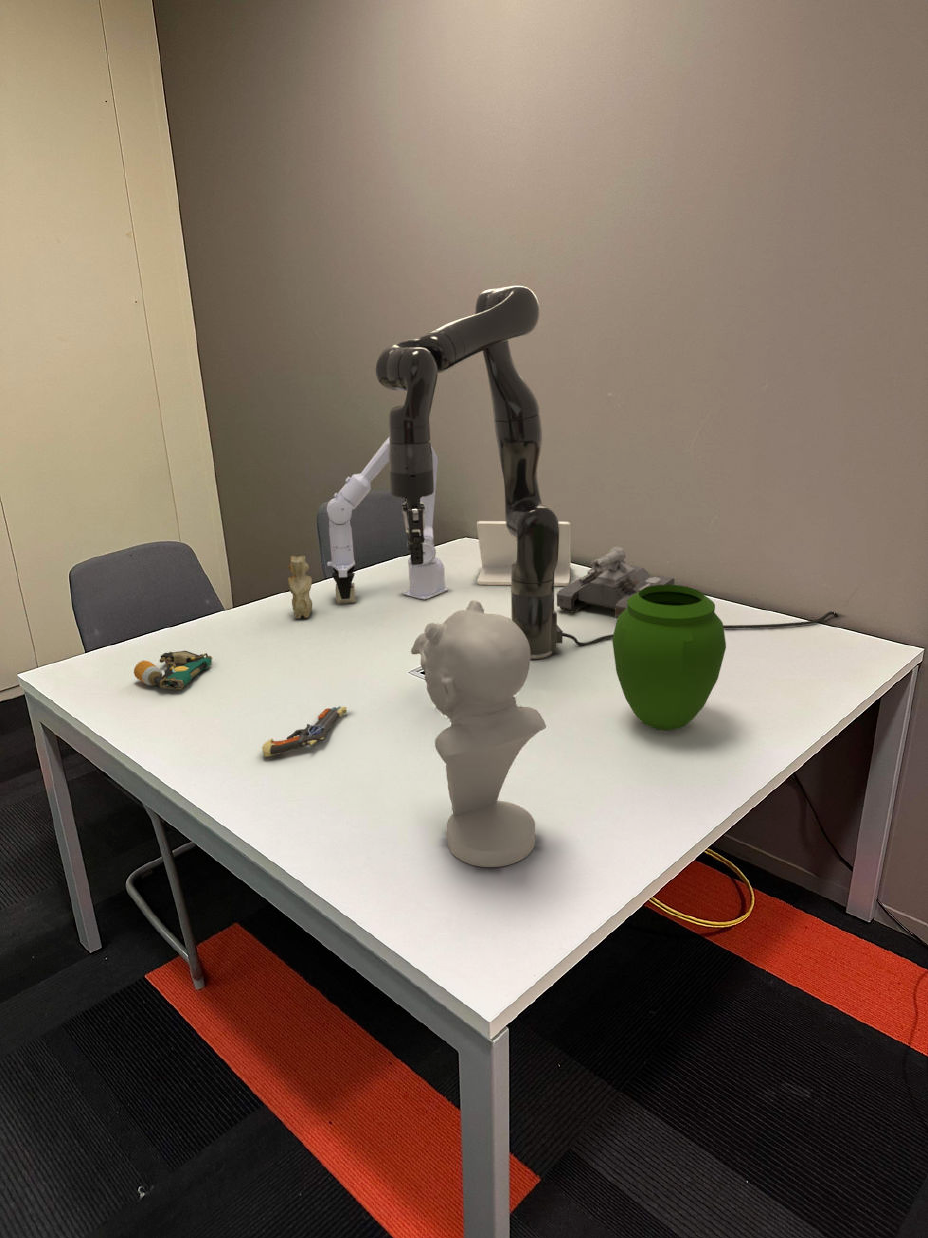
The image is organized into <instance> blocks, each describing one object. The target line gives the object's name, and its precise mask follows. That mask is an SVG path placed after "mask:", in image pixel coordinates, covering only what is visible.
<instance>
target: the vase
mask: <svg viewBox="0 0 928 1238" xmlns="http://www.w3.org/2000/svg"><path fill="white" fill-rule="evenodd" d="M715 609H716V604H715V602H714V601H713V600H712V599H711V598H710V597H708V596H707V595H705V594H704V593H703V592H701V591H700V590H698V589H695V588H693V587H688V586H684V585H679V584H678V585H677V584H674V585H656V586H650V587H646V588H644V589H642V590H640V591H639V592H638V593H636V594H634V595H632V596H631V597H630V598H629V599H628V601H627V608H626V609H625V610H624V611H623V612H622V613H621V614H620V615H619V616H618V619H617V618H616V624H615V627H614V631H613V638H611V641H612V642H611V643H612V649H613V656H614V657H613V658H614V664H615V665H614V666H615V671H616V676H617V678H618V681H619V685H620V687H621V690H622V693H623V696H624V699H625V700H626V703H627V704H628V705H629V707H630V709H631V711H632V712H633V714H634V716H636V717H637V718H638V720H639V721H640V722H641V723H642V724H643V725H645V726H647V727H649V728H651V729H654V730H660V731H674V730H679V729H682V728H684V727H686V726H687V725H688V724H689V723H691V722H692V720H694V719H695V718H696V716H697V715H698V714H699V713H700V712H701V710H702V709H703V708H704V707H705V705H706V703H707V702H708V700H709V697H710V695H711V693H712V691H713V689H714V688H715V685H716V684H717V681H718V679H719V676H720V672H721V669H722V664H723V660H724V658H725V657H724V656H725V653H726V650H727V641H726V635H725V629H724V627H723V625H724V623H723V622H722V621H723V620H721V619H720V617H719V616H718V615H717V614H716V612H715Z"/></svg>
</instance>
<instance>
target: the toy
mask: <svg viewBox="0 0 928 1238" xmlns="http://www.w3.org/2000/svg"><path fill="white" fill-rule="evenodd" d="M626 557H627V556H626V551H625V549H624V548H622V547H621V546H614V547H612V548H611V549H610V550H609V552H608V553H607V554H605V555H604V556H601V557H599V558H598V559H597V557H596V558H594V559H593V560H592V561H590V562H589V563H590V564H591V565H592V567H591V568H590V569H589V570H587V573H586V575H584V576H582V577H580V578H578V579H577V580H575V581H573V582H570V583H569V585H567V586H563V587H562V588H560V589H559V590H558V591H557V592H556V607H558V608H559V609H560V610H562V611H566V612H572V613H575V612H577V611H579V610H581V609H582V608H585V607H586V606H588V605H592V606H598V607H602V608H603V607H604V608H609V609H613V610H614V618H615V619H616V620H617V619H618V616H619V615H620V614H621V613H622V612H623V611H624V610H625V609H626V608H627V601H628V599H629V598H630V597H631V596H632V595H634V594H636V593H638V592H639V591H640V590H642V589H644V588H646V587H650V586H656V585H675V580H676V579H675V578H673V577H668V576H663V575H656V576H655V577H654V576H651V574H650V573H649V572H648V571H647V570H646V568H644V567H641V566H635V565H629V564H628V563H627V562H626V561H625V559H626Z"/></svg>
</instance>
